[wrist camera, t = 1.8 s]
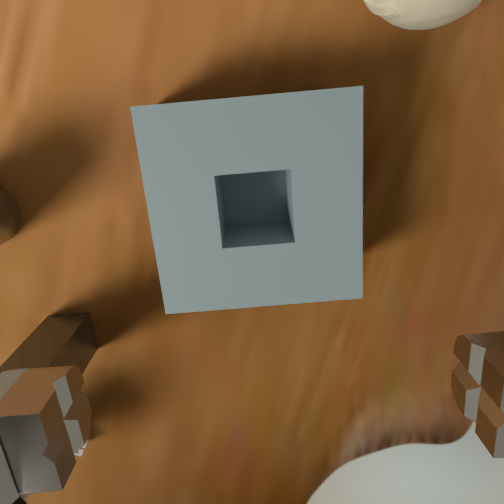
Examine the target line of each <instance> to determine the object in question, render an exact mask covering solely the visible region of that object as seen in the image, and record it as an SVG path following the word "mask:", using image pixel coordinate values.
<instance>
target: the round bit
mask: <svg viewBox="0 0 504 504" xmlns="http://www.w3.org/2000/svg"><path fill="white" fill-rule="evenodd" d="M18 226H19V211H18V208H17V205H16V203H15V201H14V199H13V198H12V196H11V195H10V194H9V193H8V192H7V191H6V190H5V189H4V188H2V187H1V186H0V245H1V244H3V243H5V242H6V241H8V240H9V239H11V238H12V237H13V236H14V234H15V233H16V231H17V229H18Z"/></svg>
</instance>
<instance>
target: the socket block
mask: <svg viewBox="0 0 504 504" xmlns="http://www.w3.org/2000/svg"><path fill="white" fill-rule="evenodd" d="M130 109H131V115H132V121H133V127H134V133H135V139H136V144H137V150H138V156H139V162H140V168H141V174H142V179H143V185H144V191H145V197H146V203H147V209H148V214H149V220H150V226H151V232H152V238H153V244H154V249H155V255H156V261H157V267H158V273H159V279H160V284H161V290H162V296H163V302H164V308H165V313H166V314H174V313H187V312H199V311H211V310H223V309H236V308H248V307H260V306H272V305H284V304H297V303H309V302H321V301H333V300H345V299H358V298H363V86H354V87H343V88H332V89H321V90H310V91H299V92H288V93H277V94H266V95H254V96H243V97H232V98H221V99H210V100H199V101H188V102H177V103H166V104H155V105H144V106H133V107H130Z"/></svg>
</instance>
